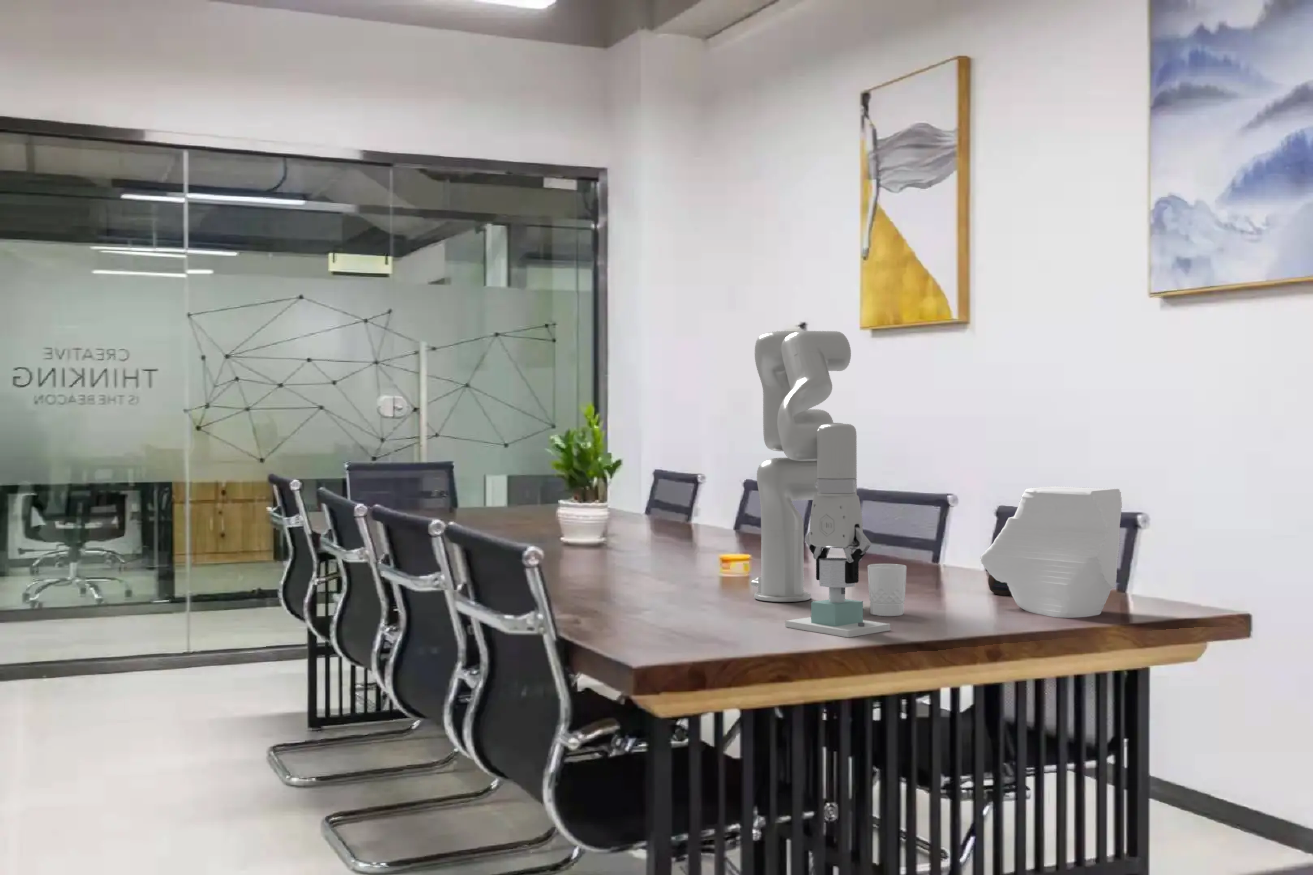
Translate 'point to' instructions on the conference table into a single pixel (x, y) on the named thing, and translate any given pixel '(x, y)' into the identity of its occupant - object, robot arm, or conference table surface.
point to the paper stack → (1059, 550)
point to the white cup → (887, 589)
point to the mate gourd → (998, 586)
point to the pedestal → (837, 617)
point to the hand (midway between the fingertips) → (837, 580)
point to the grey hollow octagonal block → (833, 572)
